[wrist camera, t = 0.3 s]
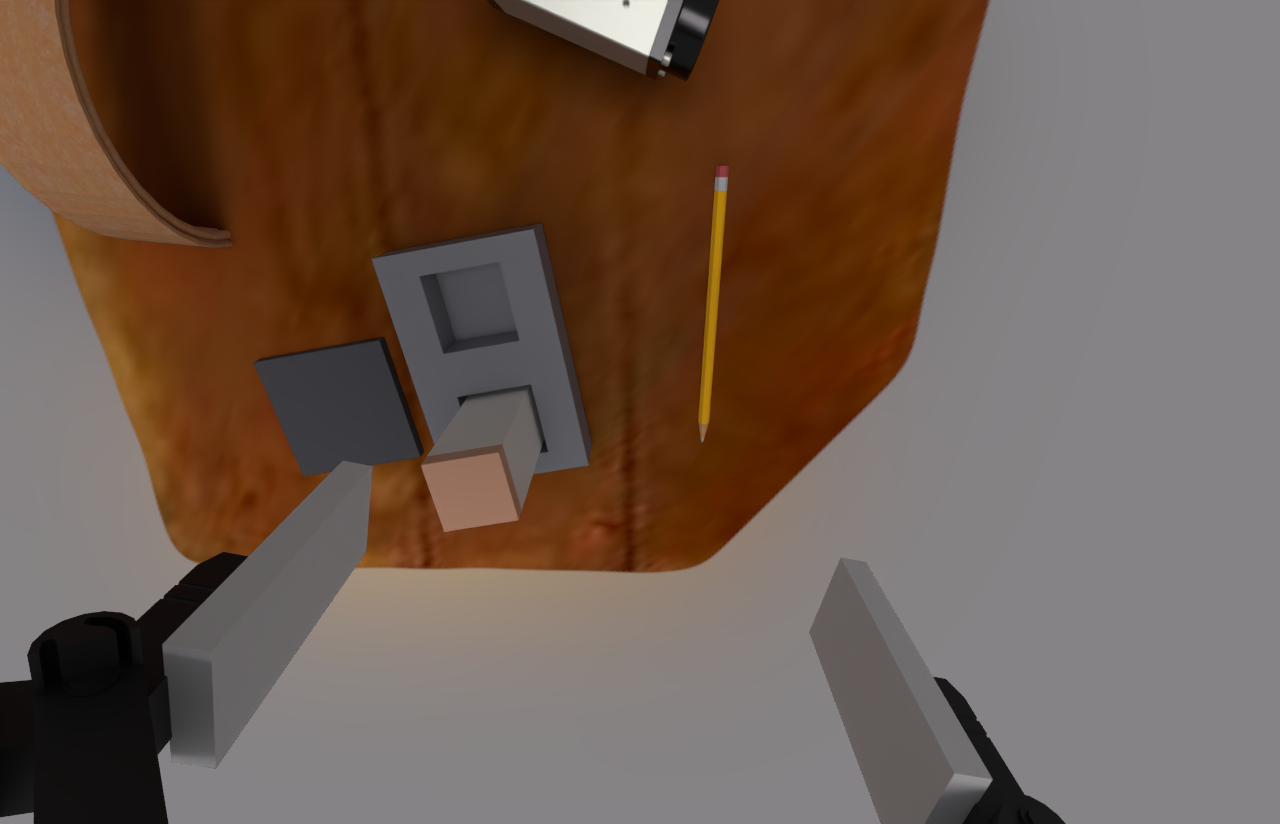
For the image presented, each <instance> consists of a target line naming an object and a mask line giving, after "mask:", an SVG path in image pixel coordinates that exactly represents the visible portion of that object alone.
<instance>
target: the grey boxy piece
mask: <svg viewBox="0 0 1280 824" xmlns="http://www.w3.org/2000/svg"><path fill="white" fill-rule="evenodd" d="M372 262H373V265H374V268H375V271H376V274H377V277H378V280H379V283H380V286H381V289H382V291H383V294H384V297H385V300H386V303H387V306H388V309H389V312H390V315H391V318H392V321H393V324H394V327H395V330H396V333H397V336H398V339H399V342H400V345H401V348H402V351H403V354H404V356H405V359H406V362H407V365H408V368H409V371H410V374H411V377H412V380H413V383H414V386H415V389H416V392H417V395H418V398H419V401H420V404H421V407H422V410H423V413H424V416H425V419H426V422H427V424H428V427H429V430H430V433H431V436H432V439H433V442H434V445H435V444H436V442H437V441H438V439H439V438H440V436H441V435H442V434H443V432H444V431H445V429H446V428H447V426H448V425H449V423H450V422H451V420H452V419H453V418H454V416H455V415H456V413H457V412H458V410H459V409H460V407H461V406H462V404H463V403H464V402H465V400H466V399H467V397H468V396H469V395H472V394H478V393H484V392H489V391H495V390H501V389H507V388H513V387H519V386H525V385H531V387H532V391H533V394H534V398H535V402H536V406H537V410H538V414H539V418H540V422H541V425H542V429H543V433H544V437H545V438H544V441H543V444H542V447H541V450H540V454H539V457H538V460H537V463H536V466H535V469H534V473H533V474H538V473H544V472H551V471H557V470H563V469H569V468H575V467H582V466H588V465H589V459H590V452H591V445H592V442H591V438H590V434H589V429H588V425H587V420H586V416H585V412H584V407H583V403H582V398H581V394H580V389H579V385H578V381H577V376H576V372H575V367H574V363H573V359H572V354H571V350H570V345H569V341H568V337H567V332H566V328H565V323H564V319H563V315H562V310H561V306H560V301H559V297H558V293H557V288H556V284H555V279H554V275H553V270H552V266H551V262H550V257H549V253H548V248H547V244H546V240H545V235H544V231H543V226H542V223H540V224H535V225H529V226H524V227H518V228H513V229H507V230H502V231H497V232H491V233H486V234H480V235H475V236H469V237H464V238H459V239H453V240H448V241H442V242H437V243H431V244H426V245H420V246H415V247H410V248H404V249H399V250H393V251H390V252H388V253H385V254H383V255H380V256H378V257H375V258H373V259H372Z"/></svg>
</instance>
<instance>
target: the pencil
mask: <svg viewBox="0 0 1280 824" xmlns="http://www.w3.org/2000/svg"><path fill="white" fill-rule="evenodd" d="M728 170H729V166H716V175H715V190H714V204H713V218H712V233H711V247H710V261H709V276H708V290H707V304H706V319H705V333H704V347H703V362H702V376H701V390H700V404H699V419H698V423H699V429H700V436H701V441H702V442H703V440H704V437H705V434H706V430H707V427H708V424H709V416H710V403H711V390H712V377H713V364H714V351H715V338H716V325H717V312H718V300H719V287H720V274H721V261H722V248H723V235H724V222H725V209H726V196H727V183H728Z"/></svg>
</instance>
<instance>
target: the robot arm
mask: <svg viewBox="0 0 1280 824" xmlns="http://www.w3.org/2000/svg"><path fill="white" fill-rule="evenodd" d="M371 479H372V466H369V465H363V464H358V463H353V462H348V461H342V462H341V463H340V464H339V465H338V466H337V467H336V468H335V469H334V470H333V471H332V472H331V473H330V474H329V475H328V476H327V477H326V478H325V479H324V480H323V481H322V482H321V483H320V484H319V485H318V486H317V487H316V488H315V489H314V490H313V491H312V492H311V493H310V495H309V496H308V497H307V498H306V499H305V500H304V501H303V502H302V503H301V504H300V505H299V506H298V507H297V508H296V509H295V510H294V511H293V512H292V513H291V514H290V515H289V516H288V517H287V518H286V519H285V520H284V521H283V522H282V523H281V524H280V525H279V526H278V527H277V528H276V529H275V530H274V531H273V532H272V533H271V534H270V535H269V536H268V537H267V538H266V539H265V540H264V541H263V542H262V543H261V544H260V545H259V546H258V547H257V548H256V549H255V550H254V551H253V553H252V554H251V555H250V556H249V557H248V556H243V555H237V554H231V553H226V552H222V553H220V554H218V555H216V556H214V557H212V558H210V559H208V560H206V561H204V562H202V563H200V564H198V565H197V566H196V567H195V568H194V569H192V570H191V571H190V572H189V573H188V574H187V575H186V576H185V577H184V578H183V579H182V580H181V581H179V584H178V585H175V586H174V587H173V588H172V589H171V590H170V591H168V593H166V594H165V595H164V598H163V599H160V600H159V601H158V602H157V603H155V604H154V605H153V606H152V607H151V608H150V609H149V610H148V611H147V612H146V613H145V614H144V615H142V616H141V617H140V618H139V619H138V620H137V621H135V619H134V618H132V617H130V616H128V615H126V614H123V613H119V612H106V611H103V612H95V613H88V614H83V615H80V616H76V617H73V618H70V619H67V620H64V621H62V622H60V623H58V624H56V625H55V626H53V627H51V628H49V629H47V630H46V631H44V632H43V633H42V634H41V635H40V636H39V637H38V638H37V639H36V640H35V641H34V642H32V644H31V647H30V650H29V652H28V655H27V656H28V662H29V667H30V672H31V677H32V680H26V681H15V682H3V683H0V817H5V816H12V815H18V814H25V813H31V812H34V824H168V818H167V813H166V806H165V800H164V794H163V787H162V781H161V775H160V768H159V762H158V756H157V755H158V754H159V752H160V751H161V750H162V749H163V748H164V746H165V745H166V744H167V743H168V741H169V740H170V750H171V762H174V763H180V764H187V765H194V766H201V767H208V768H214V769H216V768H217V766H218V765H219V763H220V762H221V761H222V759H223V758H224V756H225V755H226V753H227V752H228V750H229V749H230V748H231V746H232V745H233V743H234V742H235V740H236V739H237V738H238V736H239V735H240V733H241V732H242V730H243V729H244V727H245V726H246V724H247V723H248V722H249V720H250V719H251V717H252V716H253V714H254V713H255V711H256V710H257V708H258V707H259V706H260V704H261V703H262V701H263V700H264V698H265V697H266V695H267V694H268V693H269V691H270V690H271V688H272V687H273V685H274V684H275V683H276V681H277V680H278V678H279V677H280V675H281V674H282V672H283V671H284V670H285V668H286V667H287V665H288V664H289V662H290V661H291V659H292V658H293V657H294V655H295V654H296V652H297V651H298V649H299V648H300V646H301V645H302V643H303V642H304V641H305V639H306V638H307V636H308V635H309V633H310V632H311V630H312V629H313V628H314V626H315V625H316V623H317V622H318V620H319V619H320V618H321V616H322V615H323V613H324V612H325V610H326V609H327V607H328V606H329V605H330V603H331V602H332V600H333V599H334V597H335V596H336V594H337V593H338V592H339V590H340V589H341V587H342V586H343V584H344V583H345V581H346V580H347V578H348V577H349V576H350V574H351V573H352V571H353V570H354V568H355V567H356V565H357V564H358V563H359V561H360V560H361V558H362V557H363V555H364V554H365V552H366V545H367V532H368V519H369V505H370V492H371ZM809 633H810V635H811V638H812V641H813V644H814V646H815V649H816V652H817V654H818V657H819V659H820V662H821V665H822V668H823V670H824V673H825V676H826V678H827V681H828V684H829V686H830V689H831V692H832V694H833V697H834V700H835V702H836V705H837V708H838V710H839V713H840V715H841V718H842V721H843V724H844V726H845V729H846V732H847V735H848V737H849V740H850V742H851V745H852V748H853V751H854V753H855V756H856V759H857V761H858V764H859V767H860V769H861V772H862V775H863V777H864V780H865V783H866V785H867V788H868V791H869V793H870V796H871V798H872V801H873V804H874V806H875V809H876V812H877V815H878V817H879V820H880V823H881V824H1065V823H1064V821H1063V820H1062V819H1061V818H1060V817H1059V816H1058V815H1057V814H1056V813H1055V812H1053V811H1052V810H1051V809H1050V808H1048V807H1047V806H1046V805H1045V804H1043V803H1041V802H1039V801H1037V800H1035V799H1034V798H1032V797H1030V796H1026V795H1024V793H1023V792H1022V790H1021V788H1020V787H1019V785H1018V783H1017V782H1016V780H1015V778H1014V777H1013V775H1012V774H1011V772H1010V771H1009V769H1008V767H1007V766H1006V764H1005V762H1004V761H1003V759H1002V758H1001V756H1000V754H999V753H998V751H997V750H996V748H995V746H994V745H993V743H992V742H991V740H990V738H988V737H987V736H986V734H987V733H986V732H985V730H984V729H983V727H982V725H981V724H980V722H979V721H977V720H976V718H977V717H976V716H975V714H974V712H973V711H972V709H971V708H970V706H969V704H968V703H967V701H966V699H965V698H964V697H963V696H962V695H961V694H960V693H959V692H958V691H957V690H956V689H955V688H954V687H953V686H952V685H951V684H950V683H949V682H948V681H947V680H946V679H943V678H937V677H933V676H932V674H931V673H930V671H929V669H928V667H927V666H926V665H925V662H924V661H923V659H922V657H921V656H920V654H919V652H918V650H917V649H916V647H915V645H914V643H913V642H912V640H911V638H910V637H909V635H908V633H907V631H906V630H905V628H904V626H903V625H902V623H901V621H900V619H899V618H898V616H897V614H896V613H895V611H894V609H893V607H892V606H891V604H890V603H889V601H888V599H887V597H886V595H885V594H884V592H883V590H882V589H881V587H880V585H879V583H878V582H877V580H876V578H875V577H874V575H873V573H872V571H871V570H870V568H869V566H868V565H867V563H866V562H862V561H856V560H851V559H846V558H841V559H840V561H839V563H838V566H837V568H836V570H835V573H834V575H833V577H832V580H831V582H830V584H829V587H828V589H827V592H826V594H825V596H824V598H823V601H822V603H821V606H820V608H819V611H818V613H817V615H816V618H815V620H814V622H813V625H812V627H811V630H810V632H809Z"/></svg>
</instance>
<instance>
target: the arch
mask: <svg viewBox="0 0 1280 824" xmlns="http://www.w3.org/2000/svg"><path fill="white" fill-rule="evenodd" d="M0 163H1V164H2V165H3V166H4V167H5V168H6V169H7V171H8V172H9V173H10V174H11V175H12V176H13V177H14V178H15V179H16V180H17V181H18V182H19V183H20V184H21V185H22V186H23V187H24V189H26V190H27V191H28V192H30V193H31V194H32V195H33V196H35V197H36V198H37V199H38V200H39V201H41V202H42V203H43V204H44V205H46V206H47V207H48V208H49V209H50V210H52V211H53V212H55V213H57V214H59V215H60V216H62V217H64V218H65V219H67V220H69V221H70V222H72V223H74V224H76V225H77V226H80V227H82V228H85V229H87V230H90V231H93V232H95V233H98V234H101V235H104V236H109V237H115V238H121V239H128V240H138V241H149V242H159V243H170V244H180V245H190V246H201V247H211V248H223V247H232V246H233V243H232V242H230V241H228V240H227V239H229V238H230V236H231V235H230V233H229V231H227V230H218V229H217V228H207V227H197V226H192V225H190V224H188V223H186V222H184V221H182V220H179V219H178V218H177V217H175V216H174V215H172V214H171V213H170V212H168V211H167V210H166V209H164V208H163V207H162V206H160V205H159V204H158V203H157V202H156V201H155V199H154V198H153V197H152V196H151V195H150V194H149V193H148V192H147V191H146V190H145V189H144V188H143V187H142V186H141V185H140V184H139V182H138V181H137V180H136V178H135V177H134V175H133V174H132V173H131V171H130V170H129V169H128V167H127V166H126V165H125V163H124V162H123V161H122V159H121V157H120V155H119V154H118V152H117V150H116V148H115V147H114V145H113V143H112V141H111V140H110V138H109V136H108V135H107V133H106V131H105V129H104V127H103V124H102V122H101V120H100V117H99V115H98V113H97V111H96V108H95V106H94V104H93V101H92V99H91V97H90V94H89V91H88V87H87V84H86V81H85V78H84V75H83V72H82V68H81V65H80V62H79V59H78V54H77V49H76V44H75V39H74V33H73V28H72V23H71V16H70V1H69V0H0Z"/></svg>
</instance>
